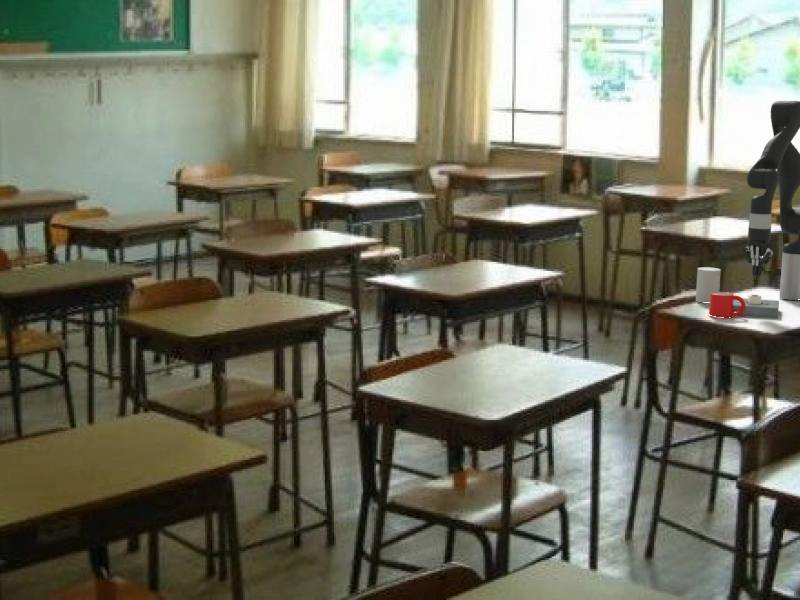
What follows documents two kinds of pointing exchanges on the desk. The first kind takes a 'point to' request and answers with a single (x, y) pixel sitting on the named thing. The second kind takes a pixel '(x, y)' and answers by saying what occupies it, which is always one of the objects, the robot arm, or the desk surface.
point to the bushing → (754, 299)
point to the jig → (758, 308)
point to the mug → (724, 304)
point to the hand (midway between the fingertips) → (756, 276)
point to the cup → (707, 283)
